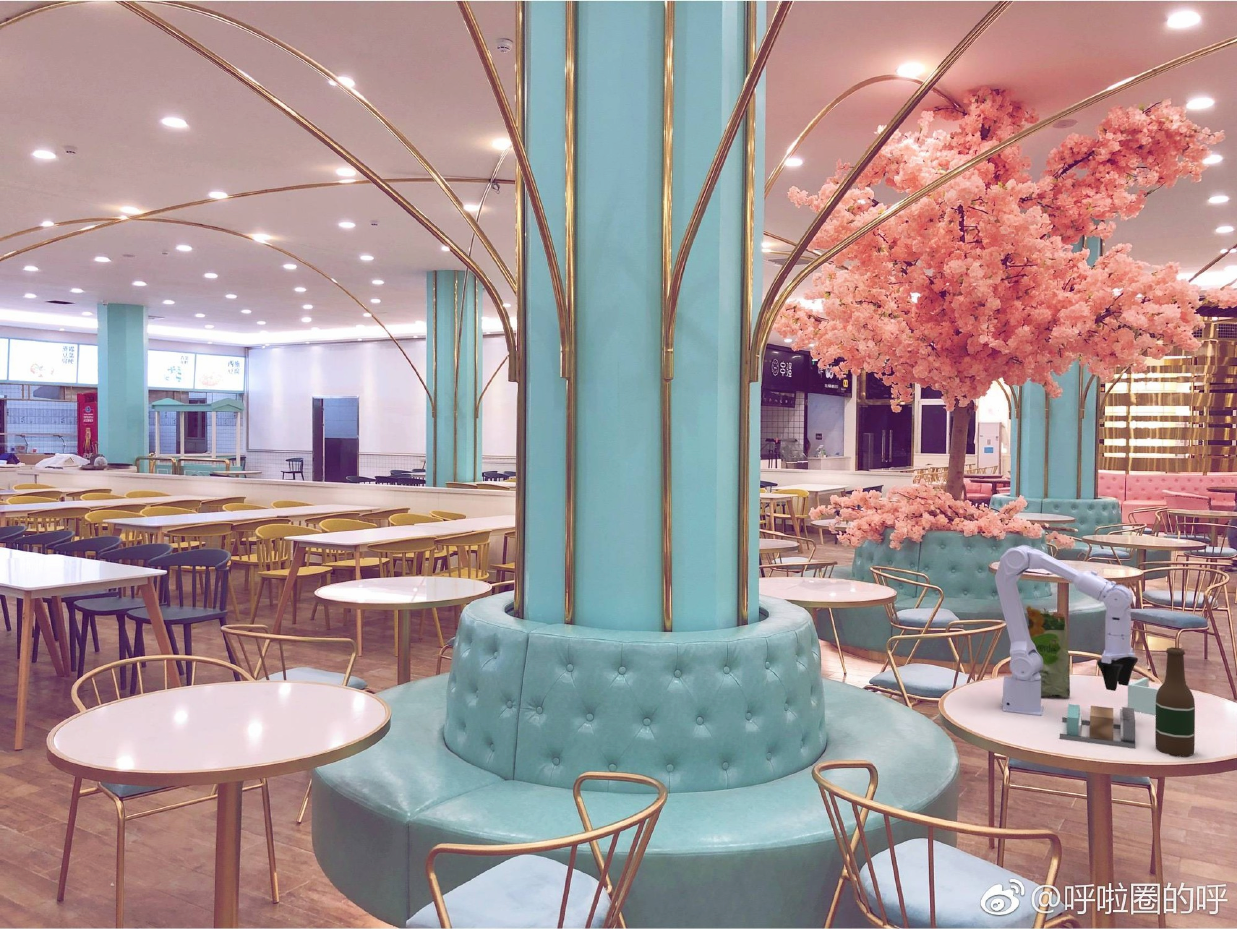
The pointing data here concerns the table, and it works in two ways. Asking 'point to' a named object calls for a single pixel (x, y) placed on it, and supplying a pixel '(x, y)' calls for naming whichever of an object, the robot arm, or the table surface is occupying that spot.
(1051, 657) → the pouch
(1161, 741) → the beer bottle
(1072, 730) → the block
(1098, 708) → the walnut block
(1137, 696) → the l-shaped corner panel
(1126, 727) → the vise
